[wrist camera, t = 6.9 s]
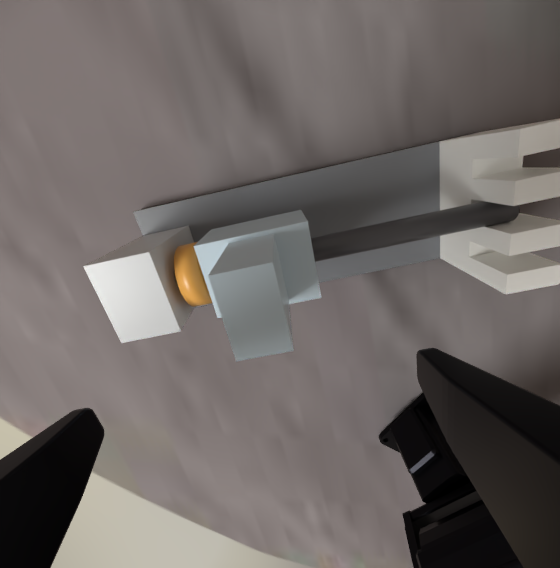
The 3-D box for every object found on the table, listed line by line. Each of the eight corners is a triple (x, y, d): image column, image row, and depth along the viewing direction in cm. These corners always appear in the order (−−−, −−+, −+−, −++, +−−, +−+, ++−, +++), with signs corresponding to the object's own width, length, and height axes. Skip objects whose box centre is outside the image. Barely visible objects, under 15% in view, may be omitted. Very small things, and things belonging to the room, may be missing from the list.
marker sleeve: (300, 209, 15) (321, 245, 8) (312, 271, 17) (338, 347, 10) (211, 229, 16) (158, 279, 9) (229, 288, 17) (196, 373, 10)
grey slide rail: (477, 132, 17) (601, 110, 11) (472, 245, 20) (570, 284, 13) (140, 209, 18) (66, 232, 12) (177, 305, 21) (133, 367, 15)
